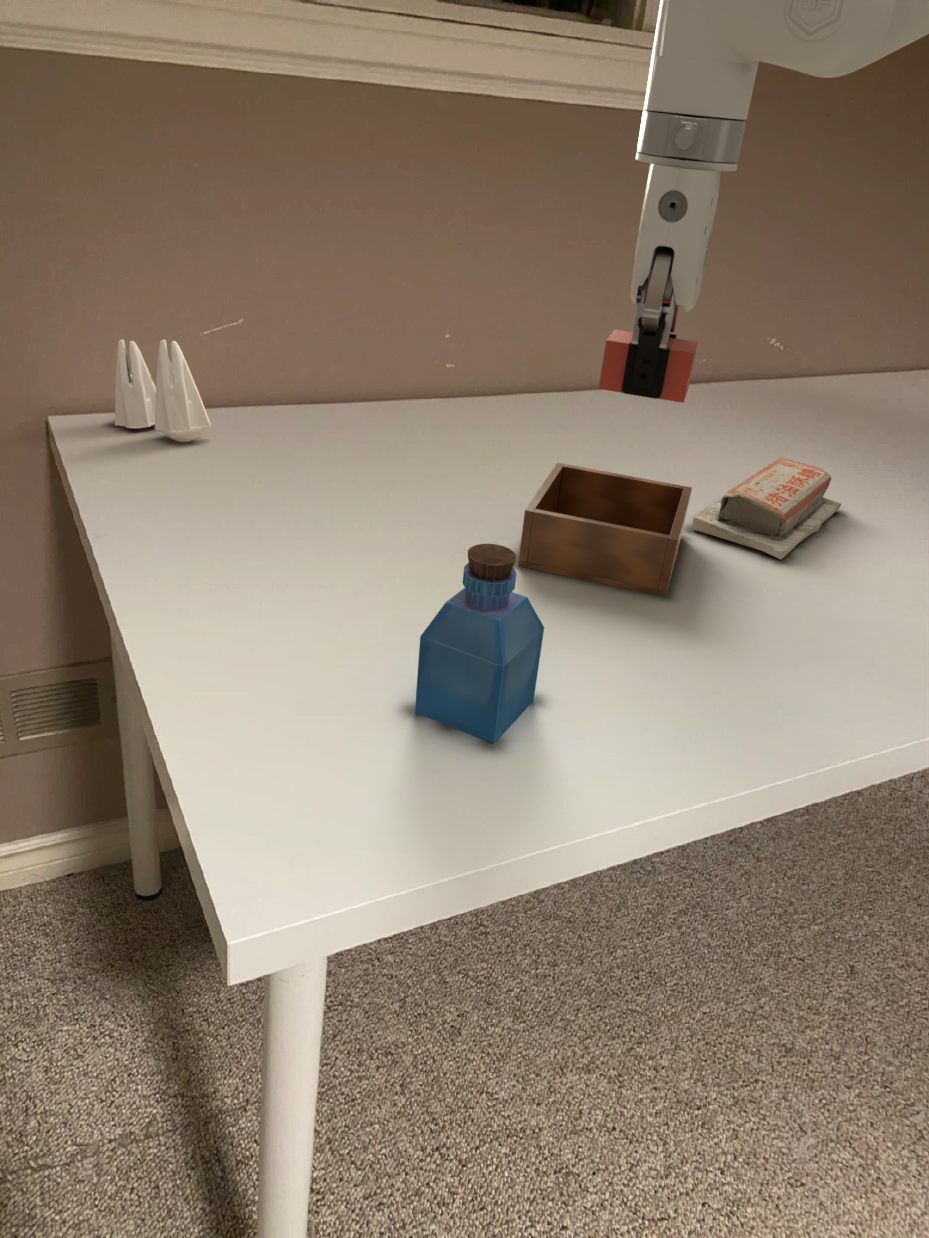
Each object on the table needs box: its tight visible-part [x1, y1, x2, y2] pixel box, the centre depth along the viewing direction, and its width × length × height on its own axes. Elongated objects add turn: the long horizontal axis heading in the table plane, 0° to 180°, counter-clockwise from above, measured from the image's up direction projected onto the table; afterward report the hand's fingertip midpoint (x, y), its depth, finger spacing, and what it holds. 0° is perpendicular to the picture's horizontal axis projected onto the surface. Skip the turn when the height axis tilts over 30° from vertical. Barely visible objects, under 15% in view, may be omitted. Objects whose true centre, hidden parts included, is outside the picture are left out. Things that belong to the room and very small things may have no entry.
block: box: [598, 329, 699, 404], centre depth 78 cm, size 7×4×4 cm, turn 74°
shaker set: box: [114, 338, 212, 443], centre depth 106 cm, size 12×4×11 cm, turn 59°
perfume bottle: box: [414, 543, 545, 745], centre depth 64 cm, size 6×6×12 cm
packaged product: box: [692, 457, 842, 560], centre depth 100 cm, size 18×5×10 cm
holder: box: [517, 462, 693, 597], centre depth 90 cm, size 14×14×6 cm
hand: (645, 385), depth 79 cm, fingers closed on block, 4 cm apart
